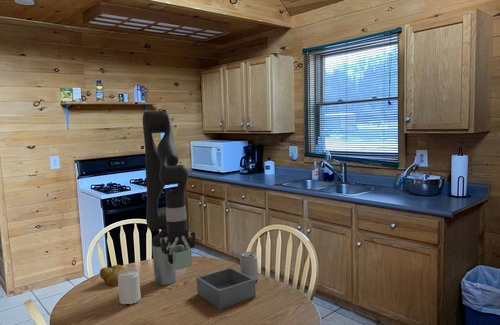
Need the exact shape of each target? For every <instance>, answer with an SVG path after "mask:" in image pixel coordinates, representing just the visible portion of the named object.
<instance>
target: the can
mask: <svg viewBox="0 0 500 325" xmlns="http://www.w3.org/2000/svg"><path fill="white" fill-rule="evenodd" d="M239 262H240V264H239V265H240V272H241V273H243V274H245V275H247V276H249V277H251V278H253V279H255V282H256V281H258V279H259V269H258V256H257V254H256V252H254V251H245V252H243V253H241V256H239Z"/></svg>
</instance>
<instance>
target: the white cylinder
mask: <svg viewBox="0 0 500 325" xmlns="http://www.w3.org/2000/svg"><path fill="white" fill-rule="evenodd" d="M117 286H118V296H119V300H118V301H119V303H120V304H121V305H125V304H130V305H134V304H136V303H138V302H140V300H141V299H142V298H141V295H142V294H141V282H140V274H139V271H138V269H135V268H126V270H123V271H121V272H119V275H118V284H117ZM133 303H134V304H133Z"/></svg>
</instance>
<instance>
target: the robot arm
mask: <svg viewBox="0 0 500 325" xmlns="http://www.w3.org/2000/svg"><path fill="white" fill-rule="evenodd" d="M172 128H173V127H172V120H171V117H170V115H169V113H168V112H167V111H165V110H164V111H163V110H155V111H154V110H152V111H151V110H147V111H144V112H143V115H142V130H143V131H142V132H143V140H144V148H145V150H144V151H145V152H144V154H145V181H146V207H145V208H146V210H145V214H146V215H145V219H146V220H145V221H146V225H147V226H146V227H147V228H148V229H149V231H151V232H156V231H159V232H158V233H157V234H156V235H155V236H153V237H152V239H151V245H152V247H151V248H152V249H151V250H152V261H153V272H154V273H153V275H154V284H155V285H156V286H169V285H172V284H174V283H175V282H176V281H177V278H176V276H177V275H176V269H175V268H174V267H172V266H171V265H169V264H168V263H167V257H168V262H169V263H170V264H173V255H172V252H173V250H174V249H175V246H178V245H182V246H184V247H186V248H188V249H190V250H191V249H193V248H195V245H196V244H195V243H196V232H194V231H193V230H191V231H188V222H187V221H188V220H187V219H188V218H187V216H188V213H187V209H186V197H185V196H186V194H185V193H186V186H187V182H188V177H189V170H188V168H187V166H185V165H184V164H179V157H178V154H177V150H176V147H175V141H174V135H173V134H174V133H173V129H172ZM153 134H163V136H162V138H160V141H159V143H158V145H156V143H155V141H154V138H153V137H154V136H153ZM170 185H177V186H176V187H175V188H174V189H171V190H168V191H167V192H165V206H164V207H163V206H162V207H159V200H160V196H161V195H162V193H163V190H164V189H165V186H170ZM187 238H189V239H188V241H187ZM167 248H168V249H167Z"/></svg>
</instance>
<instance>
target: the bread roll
mask: <svg viewBox="0 0 500 325" xmlns="http://www.w3.org/2000/svg"><path fill="white" fill-rule="evenodd" d="M123 270H127V268H126V267H125V266H123V265H122V264H115V265H112V266H110V267H102V268H100V271H99V276H100V278H101V279H102V280H103V282H104V284H105V285H107V286H117V285H118V275H119V272H121V271H123ZM116 284H117V285H116Z"/></svg>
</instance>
